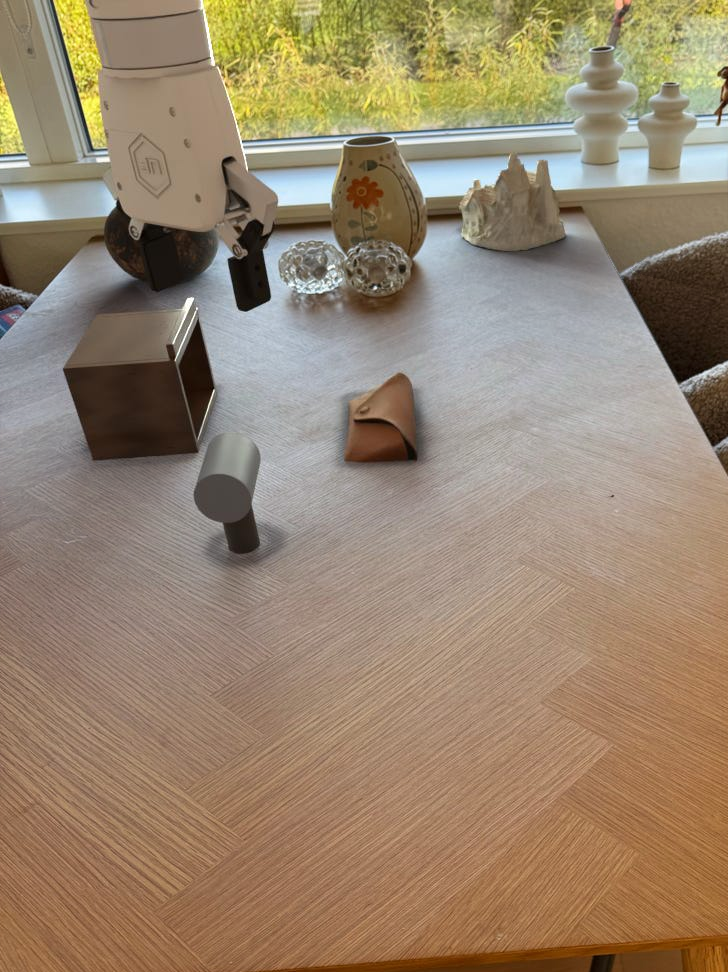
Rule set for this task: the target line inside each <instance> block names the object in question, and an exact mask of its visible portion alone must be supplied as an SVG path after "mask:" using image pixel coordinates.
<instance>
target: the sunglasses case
mask: <svg viewBox="0 0 728 972" xmlns="http://www.w3.org/2000/svg"><path fill="white" fill-rule="evenodd" d="M347 407H348V408H347V409H348V427H347V438H346V445H345V451H344V455H343V461H344V462H346V463H347V462H348V463H360V464H361V463H362V464H363V463H365V464H367V463H368V464H369V463H388V462H389V463H390V462H407V461H415V462H417V461H418V441H417V440H418V437H417V425H416V424H417V423H416V409H415V408H416V407H415V395H414V389H413V384H412V382H411V380H410V378H409V376H407V375H406V374H405V373H403V372H397V373H396V374H394V375H392V376H391V377H390V378H388V379H387V380H386V381H385V382H384V383H382V384H381V385H379V386H377V387H375V388H373V389H372V390H369V391H367V392H366V393H364V394H361V395H360V396H357V397H356V398H353V399H352V400H350V401H349V402H348V403H347Z"/></svg>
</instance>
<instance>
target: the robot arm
mask: <svg viewBox="0 0 728 972" xmlns="http://www.w3.org/2000/svg"><path fill="white" fill-rule="evenodd" d="M84 3H85V7H86V11H87V15H88V19H89V22H90V27H91V30H92V34H93V38H94V42H95V45H96V50H97V53H98V58H99V61H100V66H101V69H99V70H98V71H97V84H98V87H97V88H98V96H99V106H100V114H101V121H102V127H103V128H102V129H103V132H104V138H105V144H106V148H107V149H106V150H107V154H108V158H109V162H110V166H109V167H108V168H107V169H106V170H105V171H104V172H103V173H102V180H103V183H104V184H105V186H106V188H107V189H108V191H109V193H110V195H111V196H112V199H113V201H115V207H117V210H118V211H119V213H120V214H121V215H122V217H123V218H124V219H125V220H126V222H127V223H128V224H129V232H130V234H131V236H132V237H133V238H134V239H135V240H139V239H140V241H138V246H139V250H140V254H141V257H142V261H143V265H144V269H145V273H146V276H147V280H148V283H147V284H148V287H149V290H150V291H151V292H153V293H161V292H163V291H165V290H168V289H170V288H172V287H175V286H178V285H179V284H182V283H183V282H184V281H183V280H184V276H183V272H182V268H181V263H180V259H179V255H178V251H177V247H176V242H175V238H174V236H173V231H169V230H168V231H165V232H164V230H165V229H166V227H172V228H178V229H184V230H190V231H196V232H206V231H209V230H212V229H213V228H214V229H215V230H216V232H217V233H218V234H219V238H220V239H221V240H222V242H223V243H224V244H225V246H226V247H227V249H228V250H229V252H230V253H231V254H232V256H230V257H228V258H227V267H228V272H229V276H230V281H231V286H232V290H233V297H234V300H235V305H236V308H237V310H238V311H239V312H244V313H248V312H249V311H252V310H253V309H255V308H258V307H261V306H262V305H265V304H267V303H269V302H270V301H271V299H272V293H271V287H270V282H269V276H268V271H267V266H266V260H265V253H264V250H266V249H268V247H269V245H270V244H269V240H270V238H271V236H272V235H273V233H274V232H275V229H276V227H275V222H274V221H276V215H277V214H276V213H277V210H278V205H279V197H278V195H277V192H275V191H274V190H273V189H272V188H270V186H268V185H266V184H265V182H263V181H261V179H259V178H258V177H256V176H255V175H254V174H253V173H251V172H250V170H248V165H247V160H246V155H245V151H244V146H243V143H242V138H241V135H240V131H239V127H238V124H237V120H236V116H235V113H234V109H233V105H232V103H231V99H230V96H229V94H228V90H227V88H226V85H225V84H226V83H225V81H224V79H223V77H222V73H221V71H220V68H219V66H217V65H215V59H214V55H213V50H212V44H211V39H210V38H211V37H210V33H209V27H208V22H207V18H206V12H205V9H204V4H203V0H84ZM234 225H238V226H239V228H240V229H241V231H242V232H241V234H240V235H239V234H238V232H237V230H236V229H235V227H234Z"/></svg>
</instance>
